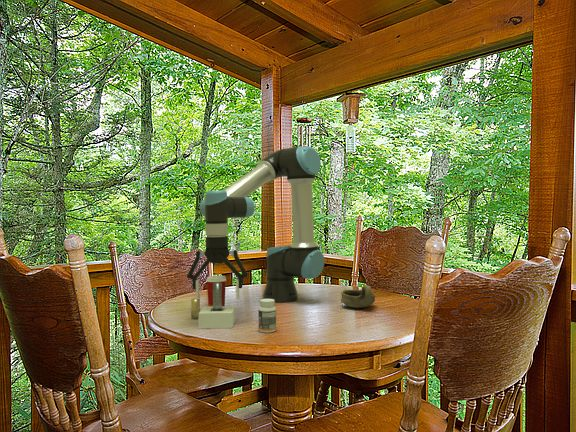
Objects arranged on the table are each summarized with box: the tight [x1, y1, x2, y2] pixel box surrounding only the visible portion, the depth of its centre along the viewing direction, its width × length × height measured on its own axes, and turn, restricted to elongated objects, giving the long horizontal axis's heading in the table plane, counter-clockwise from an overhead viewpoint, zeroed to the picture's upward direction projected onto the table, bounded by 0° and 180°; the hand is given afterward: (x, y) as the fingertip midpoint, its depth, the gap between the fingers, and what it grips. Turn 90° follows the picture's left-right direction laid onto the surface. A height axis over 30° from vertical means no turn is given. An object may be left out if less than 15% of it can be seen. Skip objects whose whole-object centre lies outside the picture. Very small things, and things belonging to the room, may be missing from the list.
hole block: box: [198, 305, 236, 330], centre depth 156 cm, size 11×11×5 cm
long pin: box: [213, 283, 222, 311], centre depth 156 cm, size 3×3×14 cm
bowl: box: [340, 285, 376, 309], centre depth 179 cm, size 14×18×10 cm
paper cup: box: [205, 275, 227, 306], centre depth 171 cm, size 8×8×14 cm
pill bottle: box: [257, 298, 277, 334], centre depth 147 cm, size 6×6×10 cm
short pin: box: [190, 297, 201, 320], centre depth 164 cm, size 3×3×7 cm
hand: (217, 298), depth 156 cm, fingers open, 13 cm apart
